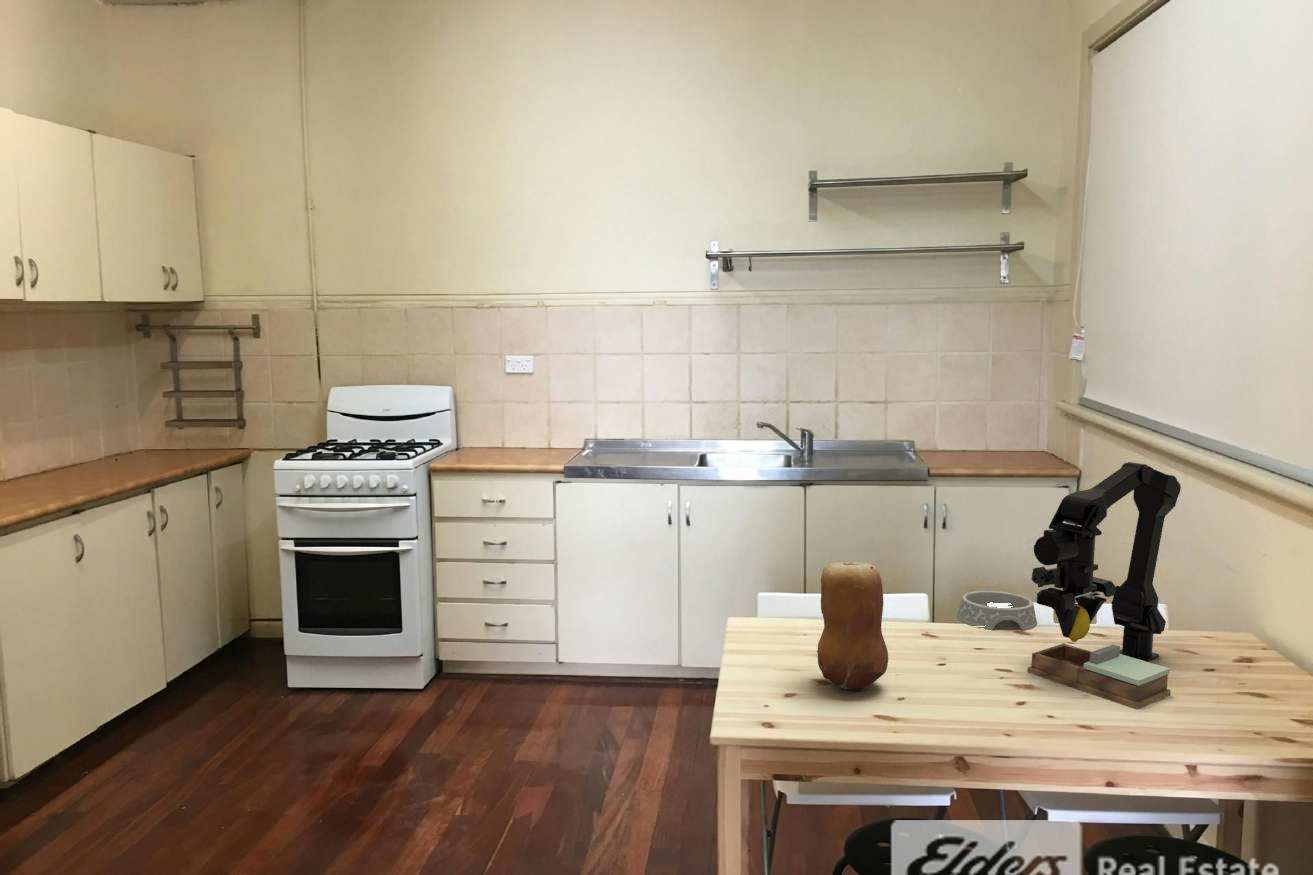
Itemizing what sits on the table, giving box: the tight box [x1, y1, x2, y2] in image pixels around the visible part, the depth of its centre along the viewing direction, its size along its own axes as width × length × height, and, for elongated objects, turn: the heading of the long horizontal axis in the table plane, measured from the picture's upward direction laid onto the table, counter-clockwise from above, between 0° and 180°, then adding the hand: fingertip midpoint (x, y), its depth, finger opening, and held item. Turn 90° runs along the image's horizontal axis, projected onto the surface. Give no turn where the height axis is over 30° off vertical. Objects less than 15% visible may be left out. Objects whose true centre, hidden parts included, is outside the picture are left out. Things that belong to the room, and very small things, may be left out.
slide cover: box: [1084, 644, 1171, 686], centre depth 191 cm, size 11×11×3 cm
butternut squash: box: [816, 561, 889, 692], centre depth 192 cm, size 14×13×25 cm
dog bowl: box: [956, 590, 1038, 632], centre depth 237 cm, size 17×18×5 cm
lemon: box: [1068, 602, 1091, 643], centre depth 200 cm, size 6×6×8 cm
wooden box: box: [1027, 643, 1172, 710], centre depth 196 cm, size 23×12×4 cm, turn 35°
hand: (1074, 634), depth 200 cm, fingers closed on lemon, 5 cm apart
